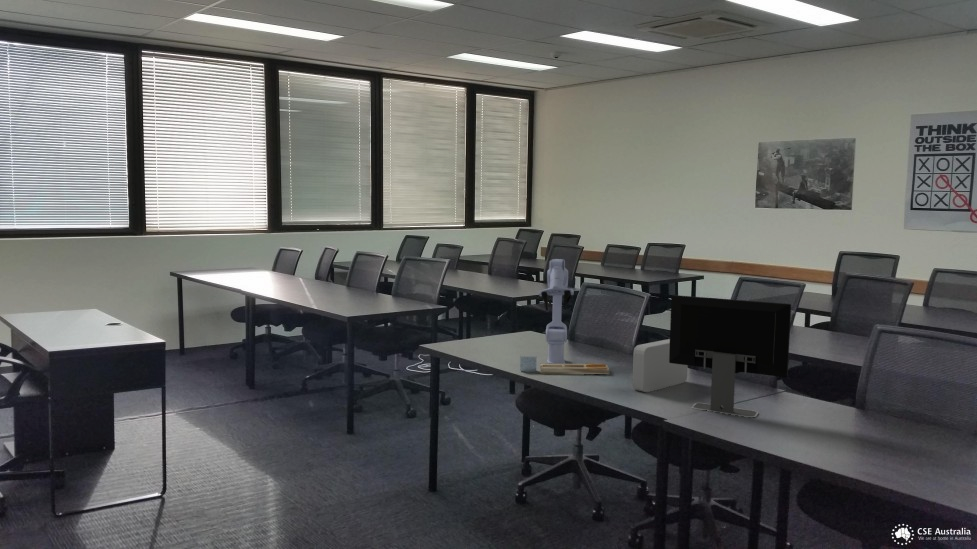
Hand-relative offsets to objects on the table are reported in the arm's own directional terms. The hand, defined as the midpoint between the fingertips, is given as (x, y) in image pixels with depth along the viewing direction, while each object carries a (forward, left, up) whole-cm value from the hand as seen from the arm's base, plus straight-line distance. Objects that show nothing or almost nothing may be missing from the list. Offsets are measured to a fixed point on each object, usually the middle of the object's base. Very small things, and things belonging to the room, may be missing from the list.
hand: (555, 308), depth 306 cm
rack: (-10, +9, -29) cm, 32 cm away
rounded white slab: (+12, +42, -30) cm, 53 cm away
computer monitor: (+44, +58, -30) cm, 79 cm away
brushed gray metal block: (-10, -11, -29) cm, 33 cm away
